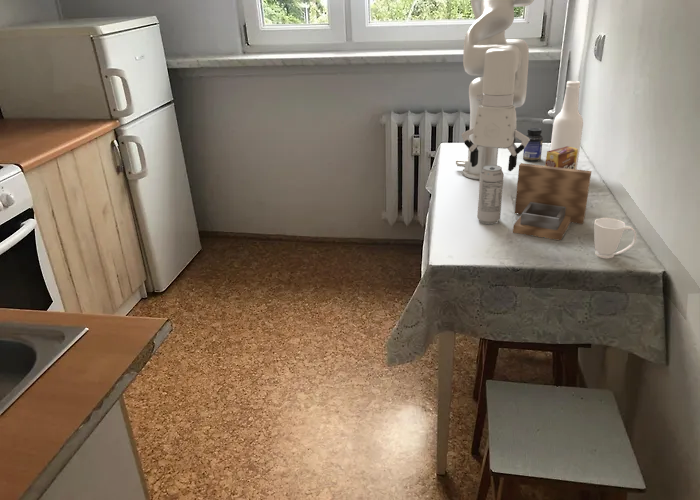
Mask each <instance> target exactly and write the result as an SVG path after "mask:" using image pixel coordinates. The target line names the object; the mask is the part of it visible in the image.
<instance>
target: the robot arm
mask: <svg viewBox="0 0 700 500" xmlns="http://www.w3.org/2000/svg"><path fill="white" fill-rule="evenodd" d="M469 1H470V4H471V10H472V11H473V16H474V19H475V21H474V22H473V23H472V25H470V27H469V28H468V29H467V32H466V34H465V36H464V40H463V55H462V56H463V57H462V60H463V61H462V62H463V69H464V72H465V73H466V74H468V75H469V76H472V77H473V76H475V77H476V76H477V77H476V78H474V79H473V80H472V81H470V84H469V85H468V86H469V87H468V97H469V99H468V100H469V113H470V115H469V129H468V130H466V131H464V132H462V133H461V138H462V140H463V142H464V145H465V146H466V148H468V152H467V153H468V155H467V158H466V159H461V158H456V161H455V165H456V166H457V167H461V168H463V169H462V173H461V174H462V175H463V176H464V177H466V178H468V179H471V180H478V181H480V173H481V171H482V170H483V167H484V166H486V165H497V166H498V157H499V149H501V150H503V149H504V150H506V149H507V150H508V152H510V155H509V156H508V166H507V170H508V172H512V171H513V170H514V169H515V168H516V167H517V161H518V154H520V153H521V152H523V151H524V148H525V147H526V145H527V144H528V142H529V141H530V139H529V138H528V137H527V136H526V135H525V134H523V133H522V132H520V131H518V130H517V111H516V109H517V108H520V107H522V106H523V105H524V104H525V103H526V99H527V98H526V97H527V91H528V90H527V89H528V88H527V87H528V76H529V75H528V72H529V71H528V70H529V60H530V59H529V58H530V57H529V56H530V54H529V53H530V52H529V51H530V50H529V46H528V45H529V44H528V43H527V42H526V40H524V39H520V38H506V35H505V34H506V30H508V29H509V28H510V27H511V26H512V24H513V23H514V20H515V8H519V7H520V8H521V7H527V6H530V5H531V4H532V3H533V2H534V1H535V0H469ZM517 139H518V140H519V141H521V143H520V145H519V146H518V147H517V146H516V144H515V143H516V142H517V141H516V140H517Z"/></svg>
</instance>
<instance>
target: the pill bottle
mask: <svg viewBox="0 0 700 500" xmlns="http://www.w3.org/2000/svg"><path fill="white" fill-rule="evenodd" d="M542 130H543V129H542V128H540V127H529V128H527V135H525V136H527V137H528V138H529V139H530V141H529V142H528V144H527V145H526V147H525V148H524V149H523V154H522V158H523V160H524V161H526V162H530V163H531V162H532V163H533V162H537V163H538V162H540V161H541V159H542V150H543V140H544V137H543V136H542V135H541V134H542V132H543V131H542Z"/></svg>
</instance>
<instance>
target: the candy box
mask: <svg viewBox="0 0 700 500" xmlns="http://www.w3.org/2000/svg"><path fill="white" fill-rule="evenodd" d="M577 153H578V149H576V148H573V147H568V146H566V147H563V148H559V149H555V150H551V151H550V150H547V151H546V156H545V164H544V166H550V167H559V168H568V169H575V165H576V159H577Z"/></svg>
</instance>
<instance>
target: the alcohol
mask: <svg viewBox="0 0 700 500" xmlns="http://www.w3.org/2000/svg"><path fill="white" fill-rule="evenodd" d="M565 87H566V89H565V92H564V99H563V102H562V106H561V110H560V112H558V114H557V115H556V116H555V117H554V120H553V124H552V133H551V141H550V142H551V143H550V150H549V151H551V150H555V149H559V148H563V147H566V146H568V147H573V148H576V149H578V153H577V159H576V165H575V169H577V170H578V163H579V156H580V150H581V149H580V147H581V141H582V135H583V128H584V118H583V116H582V114H580V112H579V99H580V87H581V82H580V81H579V80H567V82H566V86H565Z"/></svg>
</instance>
